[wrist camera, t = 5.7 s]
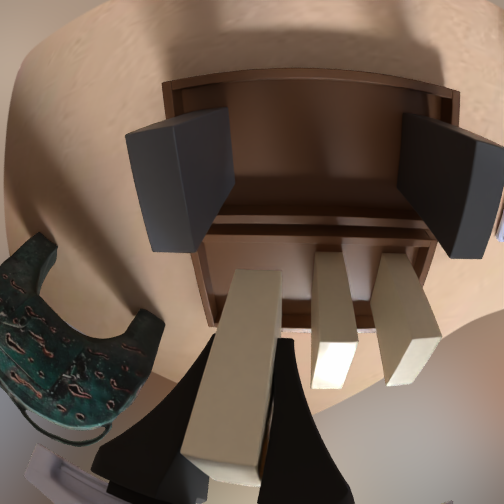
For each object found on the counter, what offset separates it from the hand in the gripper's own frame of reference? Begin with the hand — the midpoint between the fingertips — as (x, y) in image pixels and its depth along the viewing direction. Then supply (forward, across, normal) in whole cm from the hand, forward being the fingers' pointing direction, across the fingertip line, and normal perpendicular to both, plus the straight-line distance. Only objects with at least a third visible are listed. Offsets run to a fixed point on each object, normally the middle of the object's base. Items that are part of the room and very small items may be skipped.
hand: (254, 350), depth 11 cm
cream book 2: (+10, -4, +4) cm, 11 cm away
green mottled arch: (+10, +19, +6) cm, 22 cm away
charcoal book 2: (+10, -9, -6) cm, 15 cm away
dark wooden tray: (+10, -3, -6) cm, 12 cm away
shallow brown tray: (+10, -3, +4) cm, 11 cm away
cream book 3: (+10, -9, +4) cm, 14 cm away
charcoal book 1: (+10, +3, -6) cm, 12 cm away
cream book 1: (+2, 0, 0) cm, 2 cm away
